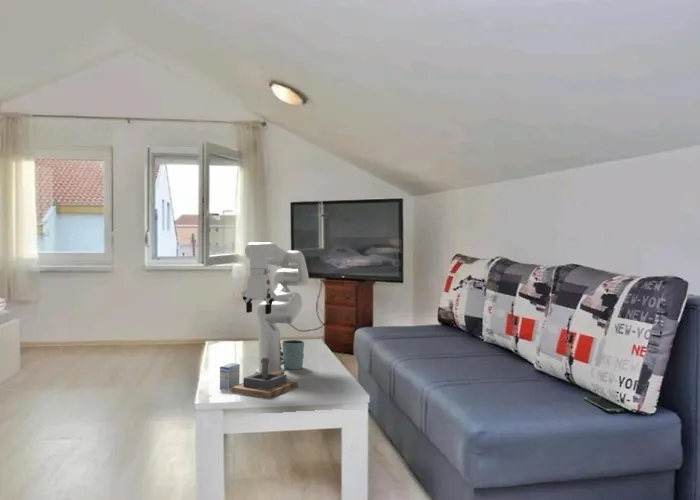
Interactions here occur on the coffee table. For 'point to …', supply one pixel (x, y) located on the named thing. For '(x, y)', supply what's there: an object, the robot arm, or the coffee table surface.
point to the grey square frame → (272, 381)
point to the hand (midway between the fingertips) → (258, 313)
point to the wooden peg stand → (260, 391)
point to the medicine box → (229, 375)
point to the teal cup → (293, 354)
